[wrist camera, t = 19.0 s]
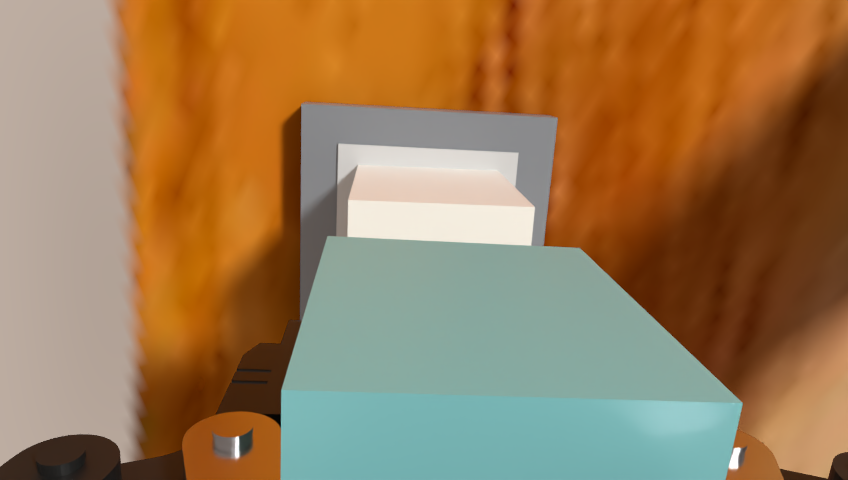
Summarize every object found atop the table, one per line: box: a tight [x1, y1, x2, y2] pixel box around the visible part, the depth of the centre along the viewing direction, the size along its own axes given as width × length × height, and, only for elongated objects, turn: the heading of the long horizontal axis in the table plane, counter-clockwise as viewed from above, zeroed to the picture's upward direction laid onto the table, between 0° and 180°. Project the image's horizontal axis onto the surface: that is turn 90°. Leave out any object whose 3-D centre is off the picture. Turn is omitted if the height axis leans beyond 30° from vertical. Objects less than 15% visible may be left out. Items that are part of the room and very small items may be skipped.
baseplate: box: [300, 102, 558, 320], centre depth 24 cm, size 9×9×1 cm
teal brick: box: [281, 236, 743, 480], centre depth 10 cm, size 5×5×6 cm
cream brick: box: [347, 165, 535, 246], centre depth 21 cm, size 5×5×6 cm
